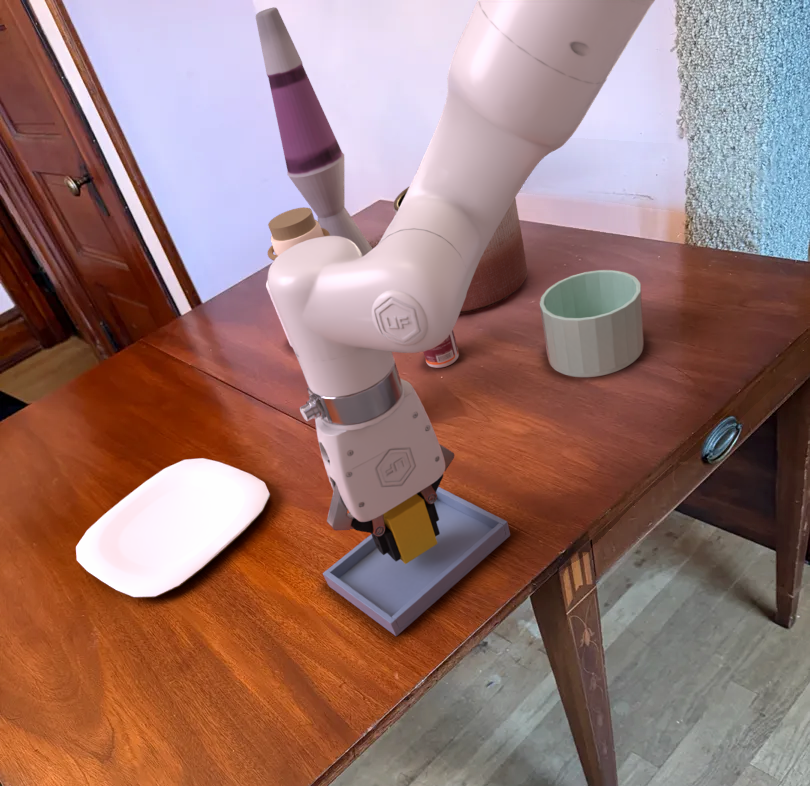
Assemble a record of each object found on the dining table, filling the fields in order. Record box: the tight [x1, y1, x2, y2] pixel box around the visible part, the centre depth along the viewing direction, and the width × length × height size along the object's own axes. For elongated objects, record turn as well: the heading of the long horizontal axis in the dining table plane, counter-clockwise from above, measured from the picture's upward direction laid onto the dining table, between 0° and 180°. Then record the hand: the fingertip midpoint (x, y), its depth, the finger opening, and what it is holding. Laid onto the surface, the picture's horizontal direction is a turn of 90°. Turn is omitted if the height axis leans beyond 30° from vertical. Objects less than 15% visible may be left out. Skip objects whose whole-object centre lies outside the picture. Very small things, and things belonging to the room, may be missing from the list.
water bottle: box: [267, 207, 330, 262], centre depth 89 cm, size 10×9×28 cm
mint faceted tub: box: [539, 269, 644, 378], centre depth 94 cm, size 12×12×8 cm
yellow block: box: [383, 494, 437, 564], centre depth 74 cm, size 4×4×6 cm
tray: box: [322, 486, 511, 637], centre depth 77 cm, size 16×11×2 cm
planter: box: [392, 185, 528, 314], centre depth 113 cm, size 18×18×16 cm
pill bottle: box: [423, 329, 460, 369], centre depth 102 cm, size 5×5×8 cm
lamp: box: [255, 6, 373, 256], centre depth 126 cm, size 11×11×40 cm
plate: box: [75, 457, 271, 599], centre depth 92 cm, size 22×22×2 cm
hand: (410, 539), depth 75 cm, fingers closed on yellow block, 4 cm apart
